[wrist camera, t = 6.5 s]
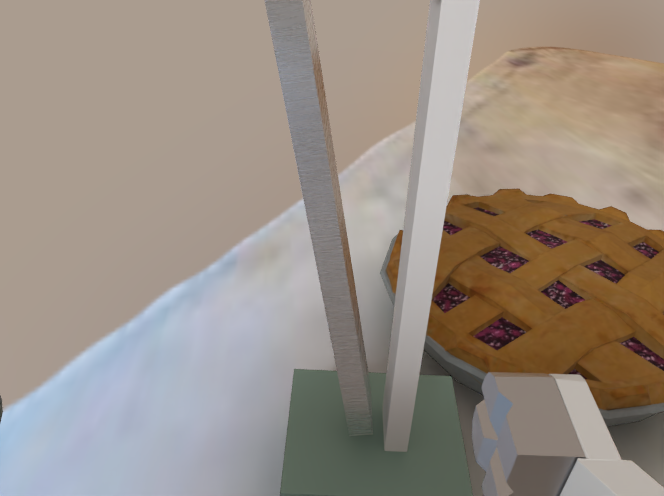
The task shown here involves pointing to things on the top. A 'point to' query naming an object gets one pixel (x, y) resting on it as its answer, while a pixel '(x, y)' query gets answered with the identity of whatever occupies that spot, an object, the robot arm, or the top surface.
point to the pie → (548, 297)
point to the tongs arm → (322, 198)
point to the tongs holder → (399, 323)
